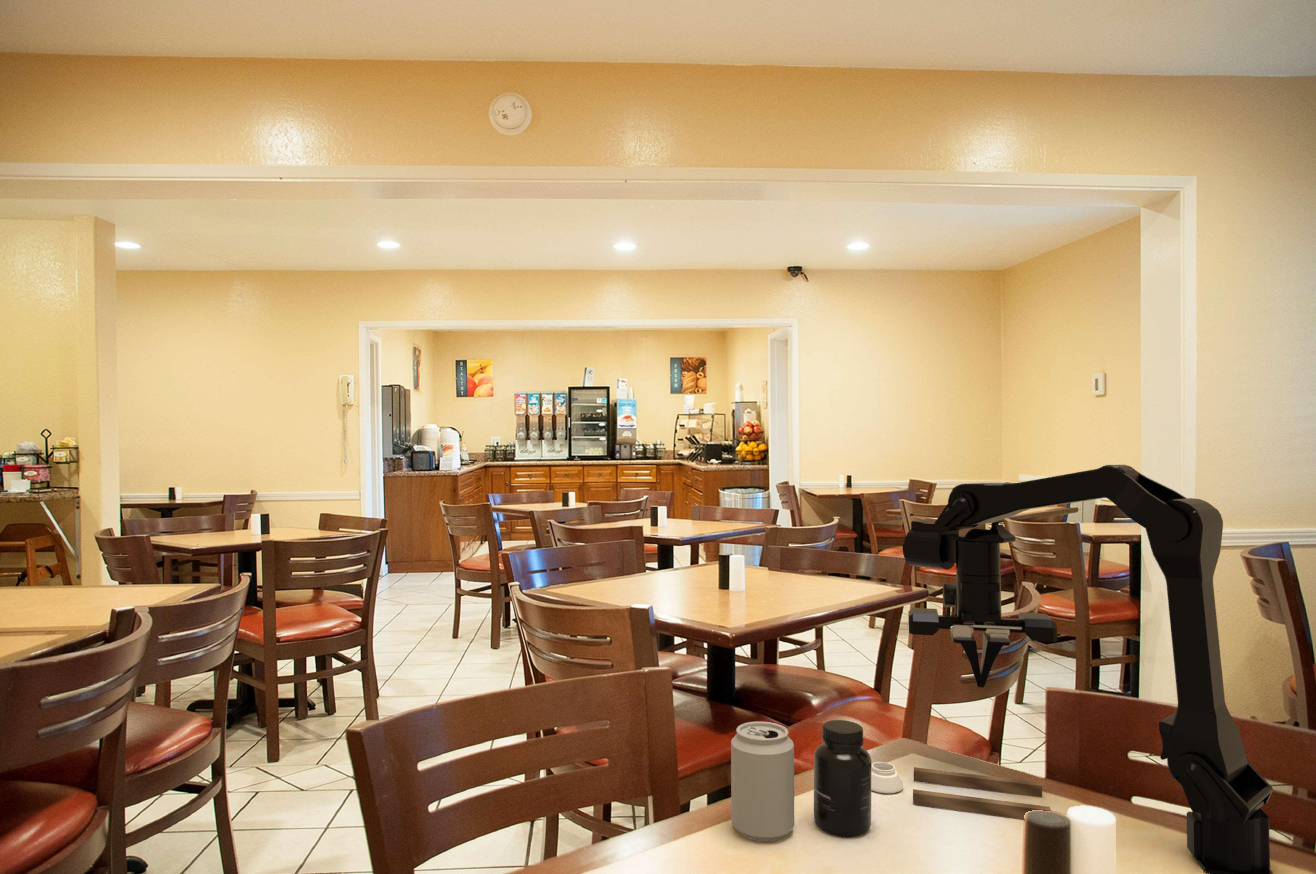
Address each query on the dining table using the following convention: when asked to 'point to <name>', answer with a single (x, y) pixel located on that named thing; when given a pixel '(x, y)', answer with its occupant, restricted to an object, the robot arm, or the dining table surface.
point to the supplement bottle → (842, 781)
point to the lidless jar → (885, 778)
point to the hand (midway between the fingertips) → (980, 686)
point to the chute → (976, 803)
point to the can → (762, 781)
